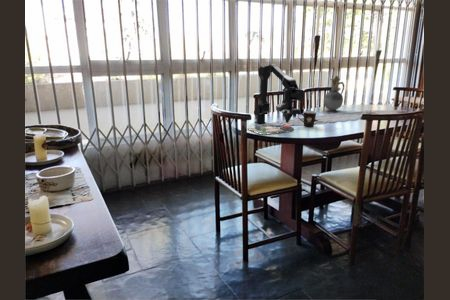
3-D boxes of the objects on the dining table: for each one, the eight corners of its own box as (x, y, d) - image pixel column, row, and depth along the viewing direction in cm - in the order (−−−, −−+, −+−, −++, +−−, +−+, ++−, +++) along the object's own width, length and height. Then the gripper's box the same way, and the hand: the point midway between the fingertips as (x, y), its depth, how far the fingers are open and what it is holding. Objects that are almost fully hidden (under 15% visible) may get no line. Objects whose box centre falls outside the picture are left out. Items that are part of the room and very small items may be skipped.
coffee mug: (317, 126, 225) (318, 112, 222) (311, 128, 219) (312, 113, 216) (302, 123, 232) (303, 109, 230) (296, 125, 226) (297, 111, 223)
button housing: (279, 129, 214) (280, 126, 214) (287, 128, 217) (287, 125, 217) (285, 132, 209) (285, 129, 208) (293, 130, 212) (293, 128, 211)
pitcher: (320, 110, 281) (324, 75, 272) (336, 109, 290) (340, 74, 281) (330, 113, 272) (334, 76, 263) (346, 111, 281) (350, 75, 272)
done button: (281, 128, 214) (282, 125, 213) (287, 127, 216) (287, 124, 215) (286, 129, 210) (286, 126, 209) (291, 129, 212) (292, 126, 211)
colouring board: (247, 129, 214) (247, 127, 214) (270, 127, 222) (270, 125, 221) (260, 135, 201) (260, 133, 200) (284, 132, 208) (284, 130, 208)
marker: (255, 128, 212) (255, 125, 212) (258, 128, 213) (258, 124, 213) (262, 131, 205) (262, 128, 204) (265, 131, 206) (265, 127, 205)
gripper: (269, 97, 211) (268, 121, 216) (287, 101, 196) (285, 127, 200) (283, 96, 216) (282, 119, 221) (302, 100, 200) (300, 125, 205)
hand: (287, 122), depth 212 cm, fingers closed
